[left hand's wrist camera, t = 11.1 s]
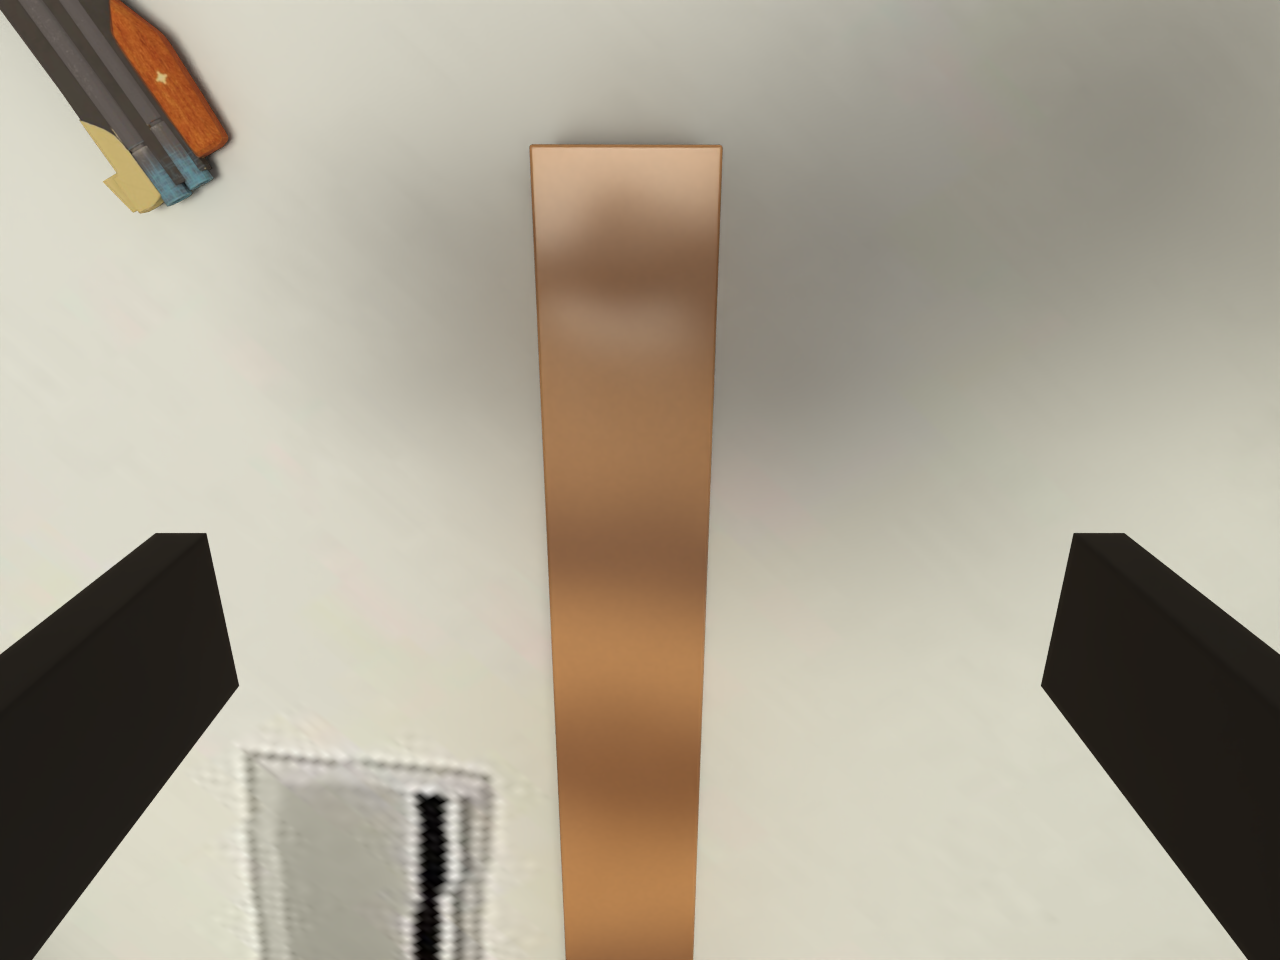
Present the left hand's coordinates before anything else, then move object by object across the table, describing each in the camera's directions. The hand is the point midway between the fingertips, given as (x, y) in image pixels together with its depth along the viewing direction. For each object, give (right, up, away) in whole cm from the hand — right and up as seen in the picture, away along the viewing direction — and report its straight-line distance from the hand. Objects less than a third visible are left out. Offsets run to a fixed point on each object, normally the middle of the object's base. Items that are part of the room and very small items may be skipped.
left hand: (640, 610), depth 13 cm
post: (-1, -16, +29) cm, 33 cm away
